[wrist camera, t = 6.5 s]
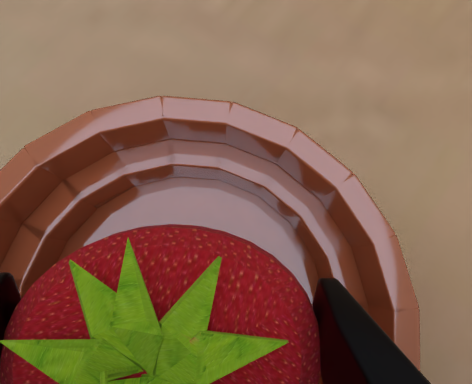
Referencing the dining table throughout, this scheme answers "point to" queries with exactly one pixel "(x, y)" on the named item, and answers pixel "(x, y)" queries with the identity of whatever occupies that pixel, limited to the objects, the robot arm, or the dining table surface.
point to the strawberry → (164, 315)
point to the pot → (205, 198)
